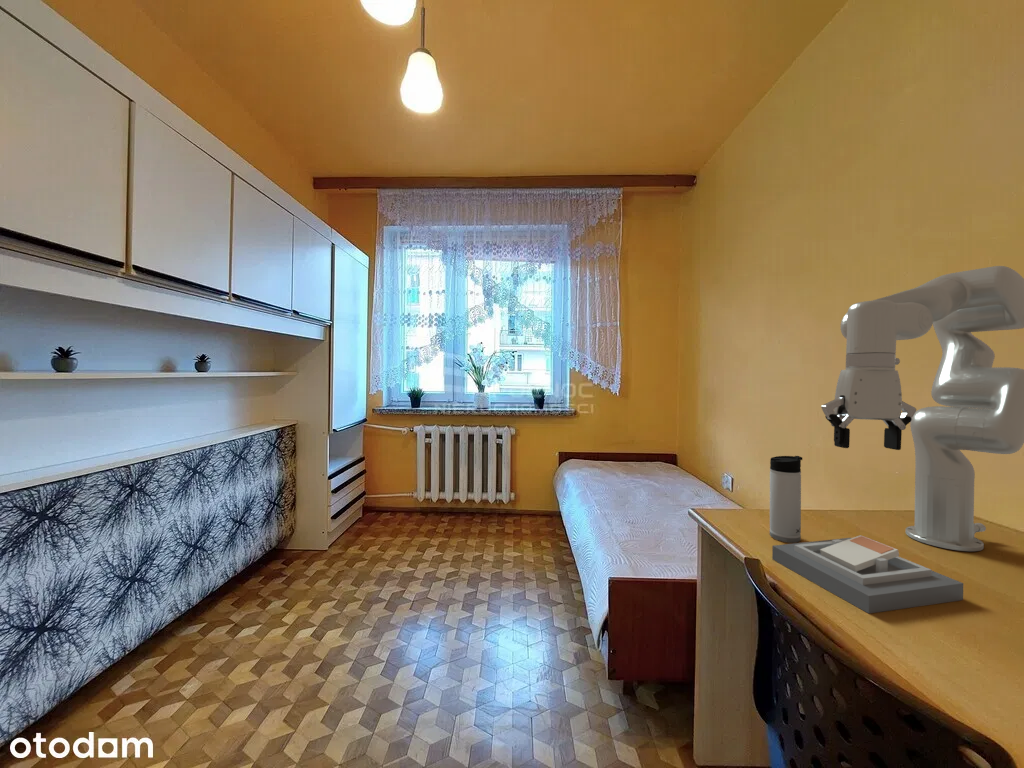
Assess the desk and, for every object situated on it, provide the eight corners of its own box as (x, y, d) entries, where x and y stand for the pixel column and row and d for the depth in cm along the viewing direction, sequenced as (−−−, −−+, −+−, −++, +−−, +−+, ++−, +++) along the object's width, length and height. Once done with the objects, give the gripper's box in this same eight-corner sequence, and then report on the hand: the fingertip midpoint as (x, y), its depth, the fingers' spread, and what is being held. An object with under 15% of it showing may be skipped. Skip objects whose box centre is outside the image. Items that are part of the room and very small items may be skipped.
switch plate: (850, 550, 91) (850, 526, 91) (963, 599, 71) (963, 568, 71) (772, 559, 88) (772, 533, 87) (868, 613, 68) (868, 580, 68)
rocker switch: (861, 540, 84) (860, 534, 84) (899, 555, 77) (898, 549, 77) (820, 555, 82) (819, 548, 82) (855, 571, 75) (854, 565, 75)
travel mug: (807, 544, 95) (808, 459, 94) (776, 542, 96) (776, 458, 96) (794, 533, 101) (795, 453, 100) (765, 532, 102) (765, 453, 102)
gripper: (898, 364, 85) (895, 446, 85) (812, 363, 86) (809, 443, 86) (933, 363, 77) (930, 452, 78) (838, 361, 78) (835, 449, 79)
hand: (866, 447), depth 82 cm, fingers open, 9 cm apart
